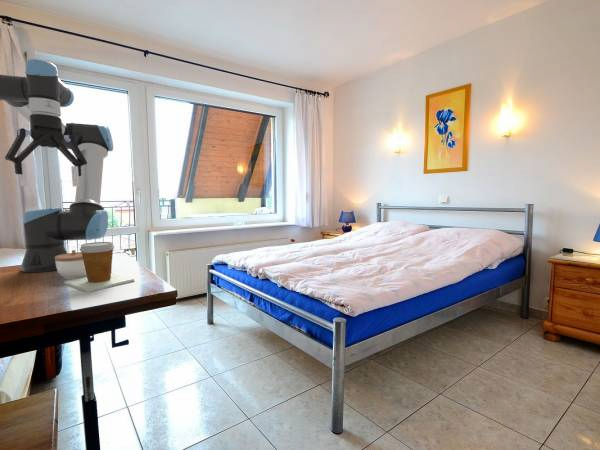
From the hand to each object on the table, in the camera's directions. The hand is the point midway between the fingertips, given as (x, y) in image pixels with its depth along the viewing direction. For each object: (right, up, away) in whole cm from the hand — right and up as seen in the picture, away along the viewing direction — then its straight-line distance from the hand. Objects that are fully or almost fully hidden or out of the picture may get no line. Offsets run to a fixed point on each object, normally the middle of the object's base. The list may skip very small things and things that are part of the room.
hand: (51, 186), depth 99 cm
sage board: (+12, -31, +5) cm, 33 cm away
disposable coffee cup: (+12, -30, +5) cm, 33 cm away
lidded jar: (-1, -30, +13) cm, 33 cm away
